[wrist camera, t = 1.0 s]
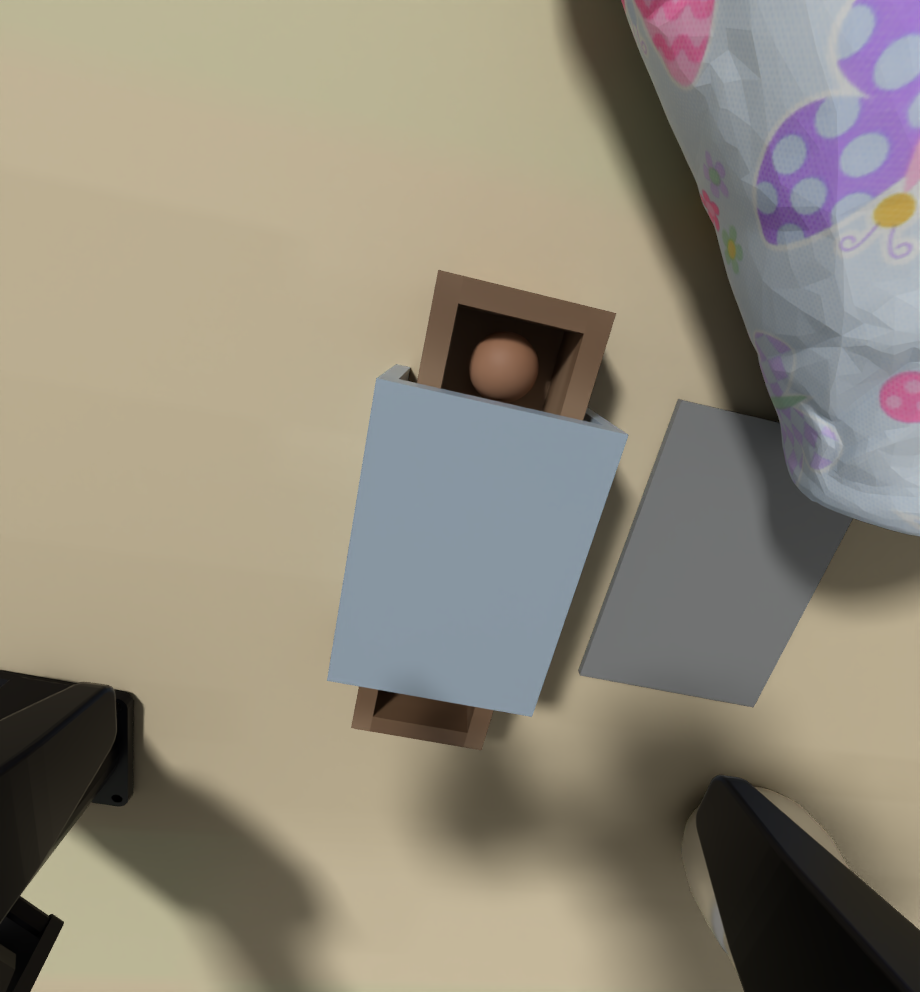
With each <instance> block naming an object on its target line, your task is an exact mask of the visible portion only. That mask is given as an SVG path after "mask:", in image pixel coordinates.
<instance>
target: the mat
mask: <svg viewBox="0 0 920 992" xmlns="http://www.w3.org/2000/svg"><path fill="white" fill-rule="evenodd" d="M852 519H853V518H851V517H849V516H846V515H843V514H841V513H838V512H835V511H833V510H831V509H828V508H826V507H824V506H822V505H820V504H819V503H817V502H814V501H811V500H810V499H809V498H808V497H807V496H806V495H804V494H803V493H802V492H801V491H800V490H799V489H798V487H797V486H796V485H795V484H794V482H793V481H792V479H791V476H790V474H789V471H788V468H787V465H786V461H785V456H784V451H783V446H782V435H781V427H780V423H779V422H774V421H770V420H766V419H762V418H757V417H753V416H749V415H744V414H740V413H736V412H731V411H727V410H723V409H719V408H714V407H710V406H706V405H701V404H697V403H693V402H688V401H684V400H680V399H678V401H677V404H676V406H675V409H674V412H673V414H672V417H671V420H670V423H669V425H668V428H667V431H666V433H665V436H664V439H663V442H662V444H661V447H660V450H659V452H658V455H657V458H656V461H655V463H654V466H653V469H652V472H651V474H650V477H649V480H648V482H647V485H646V488H645V491H644V493H643V496H642V499H641V501H640V504H639V507H638V510H637V512H636V515H635V518H634V520H633V523H632V526H631V529H630V531H629V534H628V537H627V540H626V542H625V545H624V548H623V550H622V553H621V556H620V559H619V561H618V564H617V567H616V569H615V572H614V575H613V578H612V580H611V583H610V586H609V588H608V591H607V594H606V597H605V599H604V602H603V605H602V608H601V610H600V613H599V616H598V618H597V621H596V624H595V627H594V629H593V632H592V635H591V637H590V640H589V643H588V646H587V648H586V651H585V654H584V657H583V659H582V662H581V665H580V667H579V670H578V671H579V674H580V675H581V676H587V677H592V678H598V679H603V680H609V681H614V682H619V683H625V684H630V685H636V686H641V687H646V688H652V689H657V690H663V691H668V692H673V693H679V694H684V695H690V696H695V697H700V698H706V699H711V700H717V701H722V702H728V703H733V704H738V705H744V706H749V707H754V705H755V704H756V702H757V700H758V698H759V696H760V694H761V692H762V690H763V688H764V686H765V685H766V683H767V681H768V679H769V677H770V675H771V673H772V671H773V669H774V667H775V666H776V664H777V662H778V660H779V658H780V656H781V654H782V652H783V650H784V648H785V647H786V645H787V643H788V641H789V639H790V637H791V635H792V633H793V631H794V630H795V628H796V626H797V624H798V622H799V620H800V618H801V616H802V614H803V612H804V611H805V609H806V607H807V605H808V603H809V601H810V599H811V597H812V595H813V593H814V592H815V590H816V588H817V586H818V584H819V582H820V580H821V578H822V576H823V574H824V573H825V571H826V569H827V567H828V565H829V563H830V561H831V559H832V557H833V556H834V554H835V552H836V550H837V548H838V546H839V544H840V542H841V540H842V538H843V537H844V535H845V533H846V531H847V529H848V527H849V525H850V523H851V521H852Z"/></svg>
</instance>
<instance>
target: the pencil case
mask: <svg viewBox="0 0 920 992" xmlns="http://www.w3.org/2000/svg"><path fill="white" fill-rule="evenodd" d="M621 1H622V4H623V7H624V10H625V13H626V16H627V19H628V22H629V25H630V28H631V30H632V33H633V36H634V39H635V41H636V44H637V47H638V49H639V52H640V54H641V56H642V59H643V61H644V63H645V66H646V68H647V70H648V73H649V75H650V77H651V80H652V82H653V85H654V87H655V89H656V92H657V94H658V97H659V99H660V102H661V104H662V107H663V109H664V112H665V114H666V117H667V119H668V121H669V124H670V126H671V128H672V130H673V132H674V134H675V137H676V139H677V141H678V143H679V145H680V147H681V150H682V152H683V154H684V156H685V158H686V161H687V163H688V165H689V167H690V169H691V171H692V174H693V176H694V178H695V180H696V183H697V185H698V189H699V193H700V197H701V200H702V203H703V206H704V208H705V209H706V211H707V213H708V215H709V217H710V219H711V221H712V223H713V225H714V227H715V230H716V234H717V238H718V242H719V246H720V250H721V254H722V257H723V261H724V265H725V269H726V272H727V276H728V279H729V282H730V285H731V288H732V291H733V294H734V296H735V299H736V302H737V304H738V307H739V310H740V312H741V315H742V318H743V321H744V324H745V326H746V329H747V332H748V335H749V337H750V340H751V342H752V344H753V346H754V348H755V350H756V351H757V353H758V359H759V365H760V368H761V371H762V375H763V378H764V381H765V384H766V387H767V390H768V393H769V395H770V398H771V400H772V402H773V405H774V407H775V410H776V412H777V415H778V418H779V421H780V427H781V435H782V446H783V451H784V456H785V461H786V465H787V468H788V471H789V474H790V476H791V479H792V481H793V482H794V484H795V485H796V486H797V487H798V489H799V490H800V491H801V492H802V493H803V494H804V495H806V496H807V497H808V498H809V499H810V500H811V501H814V502H817V503H819V504H820V505H822V506H824V507H826V508H828V509H831V510H833V511H835V512H838V513H841V514H843V515H846V516H849V517H851V518H854V519H857V520H860V521H863V522H866V523H869V524H872V525H876V526H879V527H882V528H885V529H889V530H892V531H896V532H900V533H904V534H908V535H914V536H920V0H621Z"/></svg>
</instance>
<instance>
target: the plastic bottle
mask: <svg viewBox="0 0 920 992" xmlns="http://www.w3.org/2000/svg"><path fill="white" fill-rule="evenodd" d="M755 788H756V789H757V790H758V791H759V792H760V793H762V794H763V795H764V796H765V797H766V798H767V799H769V800H770V801H771V802H772V803H773V804H774V805H775V806H777V807H778V808H779V809H780V810H781V811H782V812H784V813H785V814H786V815H787V816H788V817H789V818H791V819H792V820H793V821H794V822H795V823H796V824H797V825H799V826H800V827H801V828H802V829H803V830H804V831H806V832H807V833H808V834H809V835H810V836H811V837H812V838H814V839H815V840H816V841H817V842H818V843H819V844H821V845H822V846H823V847H824V848H825V849H826V850H828V851H829V852H830V853H831V854H832V855H833V856H834V857H836V858H837V859H838V860H839V861H840V862H841V863H843V864H844V865H845V866H846V867H847V868H848V869H849V867H848V865H847V864H846V862H845V860H844V858H843V857H842V855H841V853H840V851H839V850H838V848H837V846H836V845H835V843H834V841H833V840H832V838H831V837H830V835H829V834H828V833H827V832H826V831H825V830H824V829H823V828H822V827H821V826H820V825H819V824H818V823H817V822H816V821H815V820H814V819H813V817H812V816H811V815H810V814H809V813H808V812H807V811H806V810H805V809H804V808H803V807H801V806H800V805H799V804H798V803H797V802H795V801H793V800H791V799H789V798H787V797H785V796H783V795H781V794H779V793H777V792H774V791H772V790H769V789H765V788H761V787H755ZM699 806H700V805H699ZM699 806H698V807H697V808H696V809H695V810H694V811H693V813H692V814H691V816H690V817H689V818H688V821H687V823H686V825H685V829H684V835H683V841H682V847H681V854H682V860H683V864H684V868H685V872H686V876H687V880H688V884H689V888H690V891H691V893H692V895H693V898H694V900H695V902H696V903H697V905H698V907H699V909H700V911H701V913H702V914H703V916H704V918H705V920H706V922H707V924H708V926H709V927H710V929H711V931H712V933H713V934H714V936H715V937H716V939H717V940H718V942H719V944H720V945H721V947H722V948H723V950H724V951H725V952H726V953H727V954H728V956H729V958H730V960H731V962H732V964H733V966H734V968H735V970H736V967H735V964H734V961H733V958H732V955H731V952H730V949H729V946H728V942H727V939H726V936H725V932H724V929H723V925H722V922H721V918H720V914H719V910H718V907H717V903H716V899H715V896H714V892H713V888H712V885H711V881H710V877H709V873H708V870H707V866H706V862H705V859H704V855H703V851H702V848H701V844H700V840H699V836H698V833H697V828H696V814H697V810H698V808H699ZM736 972H737V970H736ZM737 974H738V973H737Z"/></svg>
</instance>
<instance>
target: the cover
mask: <svg viewBox="0 0 920 992" xmlns="http://www.w3.org/2000/svg"><path fill="white" fill-rule="evenodd" d="M409 373H410V367H407V366H402V365H398V364H396V365H394V366H393V367H392V368H390V369H389V370H387V371H386V372H385V373H383V374H382V375H380V376H379V377H377V378H376V384H375V390H374V396H373V402H372V408H371V415H370V421H369V427H368V433H367V439H366V445H365V451H364V457H363V464H362V470H361V476H360V482H359V488H358V494H357V500H356V507H355V513H354V519H353V525H352V531H351V537H350V543H349V549H348V556H347V562H346V568H345V574H344V580H343V586H342V592H341V598H340V605H339V611H338V617H337V623H336V629H335V635H334V641H333V648H332V654H331V660H330V666H329V672H328V678H327V681H332V682H338V683H343V684H349V685H355V686H360V687H366V688H372V689H377V690H383V691H389V692H394V693H400V694H405V695H411V696H417V697H422V698H428V699H434V700H439V701H445V702H451V703H456V704H462V705H468V706H473V707H479V708H485V709H490V710H496V711H502V712H507V713H513V714H519V715H524V716H530V717H532V715H533V712H534V709H535V706H536V703H537V701H538V698H539V695H540V692H541V689H542V686H543V683H544V680H545V677H546V674H547V671H548V668H549V666H550V663H551V660H552V657H553V654H554V651H555V648H556V645H557V642H558V639H559V636H560V633H561V631H562V628H563V625H564V622H565V619H566V616H567V613H568V610H569V607H570V604H571V601H572V598H573V595H574V593H575V590H576V587H577V584H578V581H579V578H580V575H581V572H582V569H583V566H584V563H585V560H586V558H587V555H588V552H589V549H590V546H591V543H592V540H593V537H594V534H595V531H596V528H597V525H598V523H599V520H600V517H601V514H602V511H603V508H604V505H605V502H606V499H607V496H608V493H609V490H610V488H611V485H612V482H613V479H614V476H615V473H616V470H617V467H618V464H619V461H620V458H621V455H622V453H623V450H624V447H625V444H626V441H627V438H628V434H626V433H625V432H624V431H622V430H621V429H619V428H618V427H616V426H615V425H613V424H612V423H610V422H609V421H607V420H606V419H604V418H603V417H601V416H600V415H598V414H597V413H595V412H594V411H592V410H591V409H589V408H587V409H586V413H585V416H584V419H583V420H578V419H574V418H569V417H565V416H560V415H556V414H551V413H547V412H543V411H538V410H534V409H529V408H525V407H520V406H516V405H512V404H507V403H503V402H498V401H494V400H489V399H485V398H481V397H476V396H472V395H467V394H463V393H458V392H454V391H450V390H445V389H441V388H436V387H432V386H427V385H423V384H418V383H414V382H410V381H408V378H409Z"/></svg>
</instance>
